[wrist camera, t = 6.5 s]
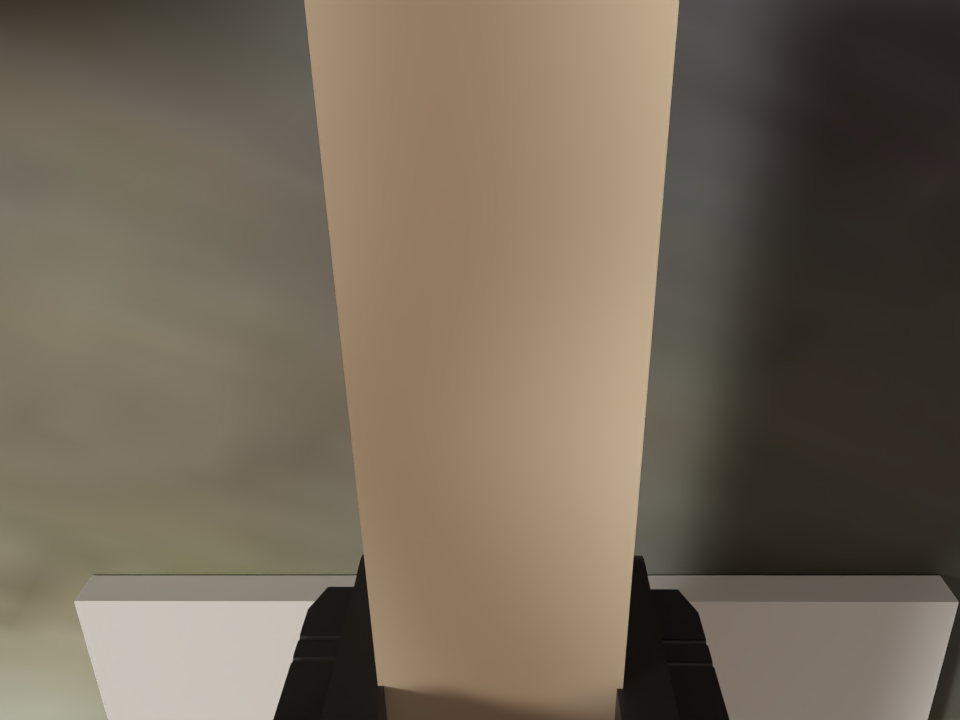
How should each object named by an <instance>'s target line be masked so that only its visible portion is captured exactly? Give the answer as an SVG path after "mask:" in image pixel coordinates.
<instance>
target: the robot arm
mask: <svg viewBox="0 0 960 720" xmlns="http://www.w3.org/2000/svg"><path fill="white" fill-rule="evenodd" d="M273 720H387V712H386V702H385V692H384V686H378V682H377V673H376V664H375V654H374V645H373V636H372V626H371V617H370V608H369V599H368V589H367V580H366V571H365V561H364V554H363V555H362V557H361V560H360V564H359V568H358V572H357V576H356V580H355V584H354V587H327V589H326V590H325V591H324V592H323V593H322V594H321V595H320V596H319V597H318V599H317V600H316V601H315V602H314V603H313V604H312V605H311V606H310V607H309V609H308V610H307V614H306V617H305V620H304V623H303V626H302V630H301V633H300V640H299V641H298V642H297V645H296V649H295V652H294V655H293V662H291V665H290V668H289V671H288V674H287V677H286V680H285V684H284V687H283V690H282V693H281V696H280V699H279V703H278V706H277V709H276V712H275V715H274V719H273ZM614 720H729V716H728V713H727V709H726V706H725V702H724V699H723V696H722V692H721V689H720V685H719V682H718V678H717V675H716V671H715V668H714V667H713V661H712V658H711V654H710V651H709V647H708V645H707V644H706V637H705V633H704V630H703V627H702V623H701V620H700V616H699V613H698V612H697V610H696V609H695V608H694V607H693V606H692V605H691V604H690V602H689V601H688V600H687V599H686V598H685V597H684V596H683V594H682V593H681V592H680V591H679V590H678V589H650V584H649V580H648V575H647V571H646V566H645V562H644V559H643V557H642V556H634V559H633V571H632V583H631V596H630V608H629V620H628V632H627V645H626V657H625V669H624V681H623V689H617V693H616V706H615V719H614Z"/></svg>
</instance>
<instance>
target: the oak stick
mask: <svg viewBox="0 0 960 720" xmlns="http://www.w3.org/2000/svg"><path fill="white" fill-rule="evenodd" d="M304 3H305V12H306V22H307V31H308V40H309V50H310V59H311V68H312V77H313V87H314V96H315V105H316V115H317V124H318V133H319V143H320V152H321V161H322V170H323V180H324V189H325V198H326V208H327V217H328V226H329V236H330V245H331V254H332V264H333V273H334V282H335V291H336V301H337V310H338V319H339V329H340V338H341V347H342V357H343V366H344V375H345V384H346V394H347V403H348V412H349V422H350V431H351V440H352V450H353V459H354V468H355V478H356V487H357V496H358V505H359V515H360V524H361V533H362V543H363V552H364V561H365V571H366V580H367V589H368V599H369V608H370V617H371V626H372V636H373V645H374V654H375V664H376V673H377V682H378V686H384V692H385V702H386V712H387V720H614V719H615V706H616V693H617V689H623V681H624V669H625V657H626V645H627V632H628V620H629V608H630V596H631V583H632V571H633V559H634V547H635V534H636V522H637V510H638V498H639V485H640V473H641V461H642V449H643V436H644V424H645V412H646V400H647V387H648V375H649V363H650V351H651V338H652V326H653V314H654V302H655V289H656V277H657V265H658V252H659V240H660V228H661V216H662V203H663V191H664V179H665V167H666V154H667V142H668V130H669V118H670V105H671V93H672V81H673V69H674V56H675V44H676V32H677V20H678V7H679V0H304Z"/></svg>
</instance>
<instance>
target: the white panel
mask: <svg viewBox="0 0 960 720" xmlns="http://www.w3.org/2000/svg"><path fill="white" fill-rule="evenodd" d="M356 576H357V575H92V576H91V577H90V579H89V580H88V581H87V583H86V584H85V586H84V587H83V589H82V590H81V592H80V593H79V595H78V596H77V597H76V599H75V600H74V603H75V606H76V610H77V613H78V617H79V620H80V624H81V627H82V631H83V634H84V638H85V641H86V645H87V648H88V652H89V655H90V659H91V662H92V666H93V669H94V673H95V676H96V680H97V683H98V687H99V690H100V694H101V697H102V701H103V704H104V708H105V711H106V715H107V718H108V720H273V719H274V715H275V712H276V709H277V706H278V703H279V699H280V696H281V693H282V690H283V687H284V684H285V680H286V677H287V674H288V671H289V668H290V665H291V662H293V655H294V652H295V649H296V645H297V642H298V641H299V640H300V633H301V630H302V626H303V623H304V620H305V617H306V614H307V610H308V609H309V607H310V606H311V605H312V604H313V603H314V602H315V601H316V600H317V599H318V597H319V596H320V595H321V594H322V593H323V592H324V591H325V590H326V589H327V587H354V584H355V580H356ZM648 580H649V584H650V589H678V590H679V591H680V592H681V593H682V594H683V596H684V597H685V598H686V599H687V600H688V601H689V602H690V604H691V605H692V606H693V607H694V608H695V609H696V610H697V612H698V613H699V616H700V620H701V623H702V627H703V630H704V633H705V637H706V644H707V645H708V647H709V651H710V654H711V658H712V661H713V667H714V668H715V671H716V675H717V678H718V682H719V685H720V689H721V692H722V696H723V699H724V702H725V706H726V709H727V713H728V716H729V720H928V717H929V713H930V709H931V705H932V702H933V698H934V694H935V690H936V686H937V683H938V679H939V675H940V671H941V668H942V664H943V660H944V656H945V653H946V649H947V645H948V641H949V637H950V634H951V630H952V626H953V622H954V619H955V615H956V611H957V607H958V604H959V602H958V600H957V599H956V597H955V596H954V595H953V593H952V592H951V590H950V589H949V587H948V586H947V585H946V583H945V582H944V580H943V579H942V578H941V576H765V575H648Z"/></svg>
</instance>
